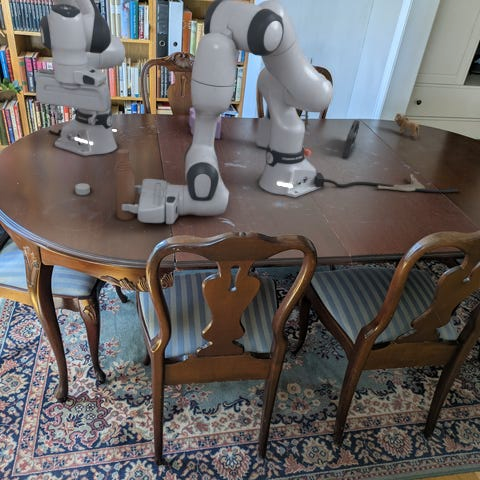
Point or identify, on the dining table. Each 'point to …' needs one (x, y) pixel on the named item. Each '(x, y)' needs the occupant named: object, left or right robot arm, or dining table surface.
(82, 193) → the cap
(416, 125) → the lion figurine
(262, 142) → the electronic device
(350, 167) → the dining table surface
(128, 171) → the bottle
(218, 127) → the clip
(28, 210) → the dining table surface
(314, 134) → the dining table surface
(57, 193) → the dining table surface
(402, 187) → the jawbone
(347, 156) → the handheld gaming console
